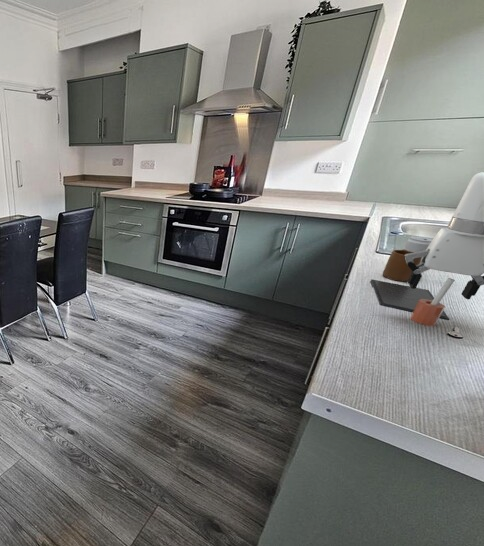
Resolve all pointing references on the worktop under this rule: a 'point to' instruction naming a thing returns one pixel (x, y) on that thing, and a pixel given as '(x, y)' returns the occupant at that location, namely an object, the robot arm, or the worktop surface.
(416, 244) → the beverage can
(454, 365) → the worktop surface
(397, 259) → the mug
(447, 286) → the stylus
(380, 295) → the plate
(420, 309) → the pen pot
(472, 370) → the worktop surface
